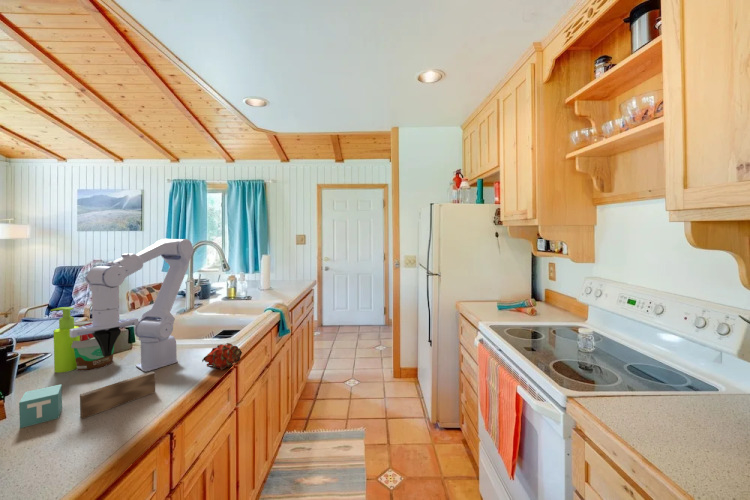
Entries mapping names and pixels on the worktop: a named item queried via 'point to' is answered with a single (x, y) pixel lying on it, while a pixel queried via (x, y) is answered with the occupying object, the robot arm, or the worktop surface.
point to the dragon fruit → (223, 356)
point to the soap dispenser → (64, 343)
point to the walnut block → (116, 394)
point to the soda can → (81, 324)
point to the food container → (90, 355)
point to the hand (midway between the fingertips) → (106, 355)
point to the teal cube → (40, 405)
